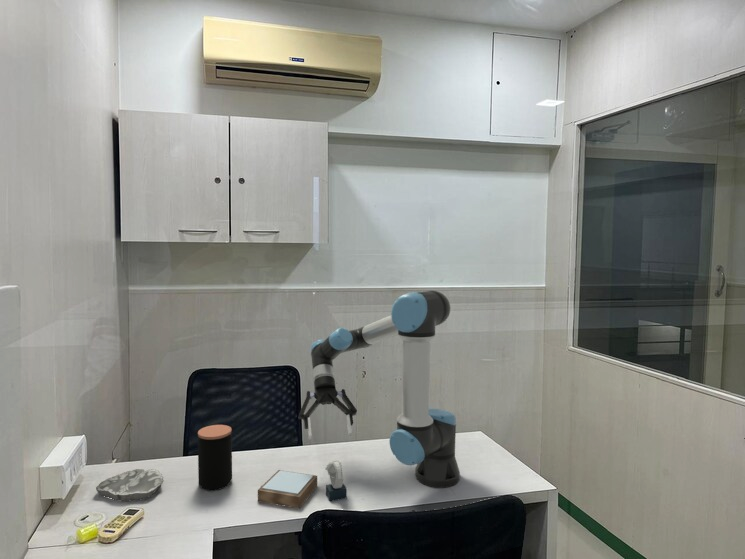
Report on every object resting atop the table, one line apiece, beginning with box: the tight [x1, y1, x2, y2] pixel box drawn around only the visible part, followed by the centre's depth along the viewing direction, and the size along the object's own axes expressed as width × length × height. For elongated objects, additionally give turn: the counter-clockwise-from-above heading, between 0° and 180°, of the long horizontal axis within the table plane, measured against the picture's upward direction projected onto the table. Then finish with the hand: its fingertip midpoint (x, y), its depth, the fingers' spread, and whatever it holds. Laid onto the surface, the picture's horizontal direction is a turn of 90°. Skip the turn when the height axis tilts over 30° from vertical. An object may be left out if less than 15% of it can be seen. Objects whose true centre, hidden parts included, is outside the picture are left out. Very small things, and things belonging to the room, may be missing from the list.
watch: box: [324, 460, 348, 502], centre depth 151 cm, size 6×8×11 cm
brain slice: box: [95, 468, 165, 502], centre depth 155 cm, size 20×17×3 cm
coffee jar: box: [197, 424, 233, 491], centre depth 158 cm, size 11×11×18 cm
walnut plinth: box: [257, 469, 318, 509], centre depth 153 cm, size 14×14×4 cm
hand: (330, 436), depth 161 cm, fingers open, 13 cm apart
